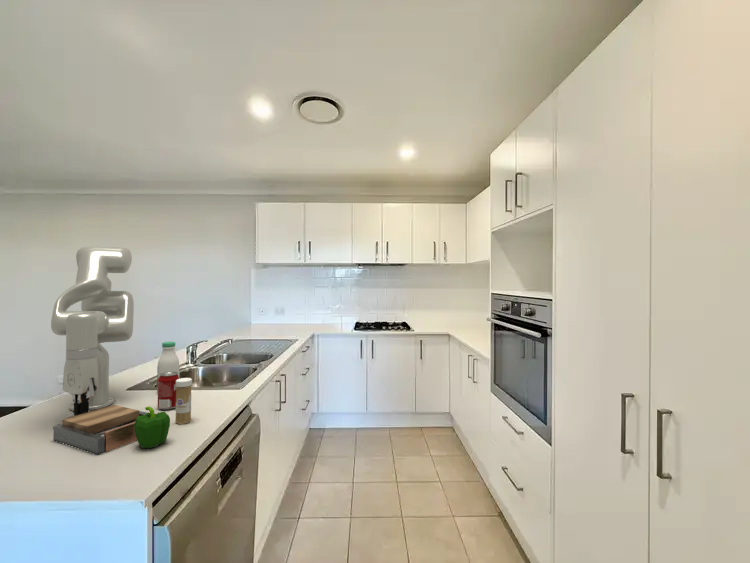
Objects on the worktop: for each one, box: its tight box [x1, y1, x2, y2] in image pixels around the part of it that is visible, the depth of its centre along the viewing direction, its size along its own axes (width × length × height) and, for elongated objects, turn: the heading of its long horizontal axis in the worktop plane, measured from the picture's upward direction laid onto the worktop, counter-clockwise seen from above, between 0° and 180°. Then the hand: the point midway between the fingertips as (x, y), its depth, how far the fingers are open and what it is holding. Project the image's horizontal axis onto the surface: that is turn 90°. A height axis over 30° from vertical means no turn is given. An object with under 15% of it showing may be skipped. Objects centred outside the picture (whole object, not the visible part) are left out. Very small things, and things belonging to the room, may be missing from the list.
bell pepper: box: [134, 405, 171, 449], centre depth 102 cm, size 8×8×10 cm
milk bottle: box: [156, 341, 180, 394], centre depth 148 cm, size 8×8×20 cm
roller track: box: [52, 410, 148, 456], centre depth 107 cm, size 20×18×5 cm
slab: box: [61, 404, 140, 434], centre depth 109 cm, size 12×14×2 cm
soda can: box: [157, 372, 181, 411], centre depth 131 cm, size 7×7×12 cm
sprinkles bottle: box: [174, 377, 193, 425], centre depth 118 cm, size 5×5×14 cm
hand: (81, 414), depth 113 cm, fingers closed
